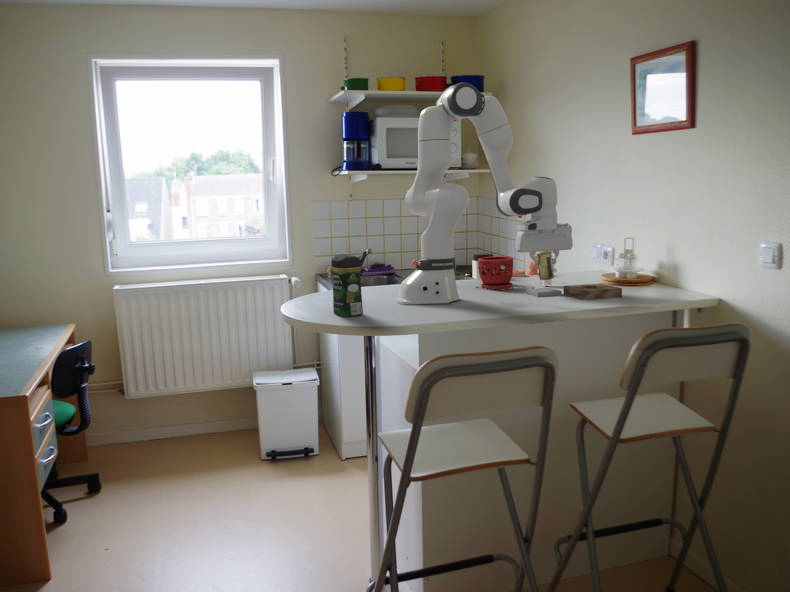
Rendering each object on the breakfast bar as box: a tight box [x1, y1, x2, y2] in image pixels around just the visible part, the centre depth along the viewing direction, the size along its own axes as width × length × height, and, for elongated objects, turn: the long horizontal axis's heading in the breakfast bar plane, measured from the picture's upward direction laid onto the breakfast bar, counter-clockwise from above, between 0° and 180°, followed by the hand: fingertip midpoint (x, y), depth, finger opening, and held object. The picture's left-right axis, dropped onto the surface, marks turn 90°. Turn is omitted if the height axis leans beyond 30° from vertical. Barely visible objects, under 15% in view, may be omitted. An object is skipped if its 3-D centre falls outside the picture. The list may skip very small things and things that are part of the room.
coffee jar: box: [330, 254, 364, 318], centre depth 205 cm, size 10×8×19 cm
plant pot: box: [478, 255, 514, 290], centre depth 253 cm, size 13×13×12 cm
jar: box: [471, 252, 495, 280], centre depth 271 cm, size 9×8×12 cm
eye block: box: [563, 283, 623, 301], centre depth 230 cm, size 14×14×3 cm
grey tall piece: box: [537, 251, 558, 286], centre depth 255 cm, size 7×7×15 cm
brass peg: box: [536, 251, 555, 281], centre depth 235 cm, size 5×5×9 cm
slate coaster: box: [526, 287, 563, 298], centre depth 237 cm, size 9×9×2 cm
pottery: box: [507, 255, 539, 278], centre depth 278 cm, size 18×10×10 cm, turn 96°
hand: (544, 264), depth 235 cm, fingers closed on brass peg, 5 cm apart
